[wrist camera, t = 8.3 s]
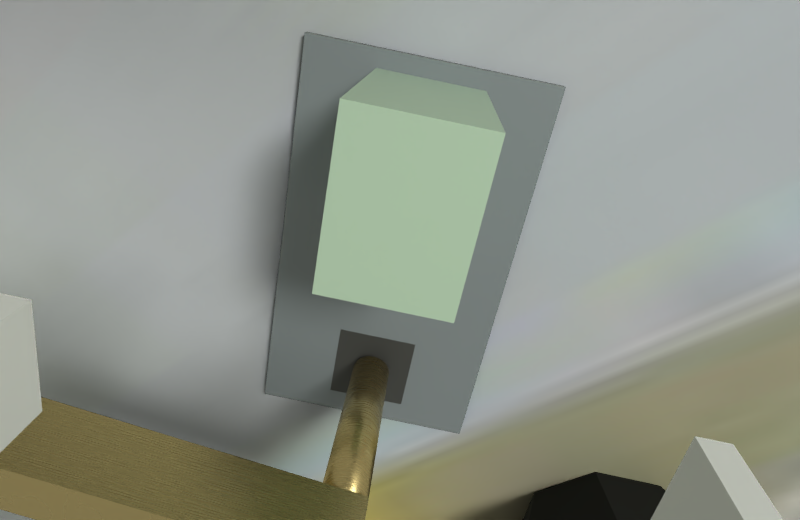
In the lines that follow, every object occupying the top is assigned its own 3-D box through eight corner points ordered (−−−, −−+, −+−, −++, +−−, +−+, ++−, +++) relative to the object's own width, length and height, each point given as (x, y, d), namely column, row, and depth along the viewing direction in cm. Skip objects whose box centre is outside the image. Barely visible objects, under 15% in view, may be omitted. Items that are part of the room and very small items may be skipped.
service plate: (307, 31, 30) (304, 32, 29) (563, 86, 30) (565, 87, 29) (267, 388, 40) (264, 393, 39) (459, 427, 40) (459, 433, 39)
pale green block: (376, 67, 30) (339, 98, 20) (486, 91, 30) (505, 133, 20) (353, 207, 33) (311, 293, 23) (452, 228, 33) (454, 323, 23)
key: (150, 316, 37) (-28, 500, 23) (154, 286, 36) (-29, 460, 22) (382, 390, 38) (345, 609, 24) (393, 362, 37) (360, 574, 23)
